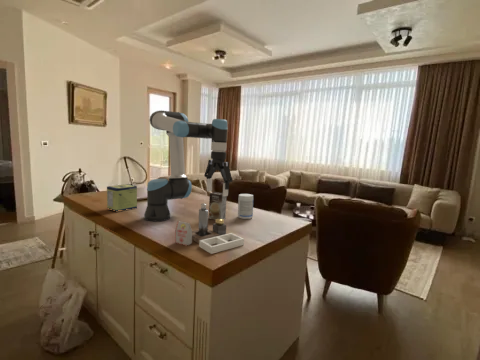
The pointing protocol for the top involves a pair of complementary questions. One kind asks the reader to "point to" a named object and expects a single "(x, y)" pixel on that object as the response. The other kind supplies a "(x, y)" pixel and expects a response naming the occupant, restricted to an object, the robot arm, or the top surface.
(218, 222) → the release key
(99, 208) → the top surface
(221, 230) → the socket
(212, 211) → the coffee box
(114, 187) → the protein box
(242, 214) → the supplement tub
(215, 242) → the tray
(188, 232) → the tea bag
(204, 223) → the grey bottle
